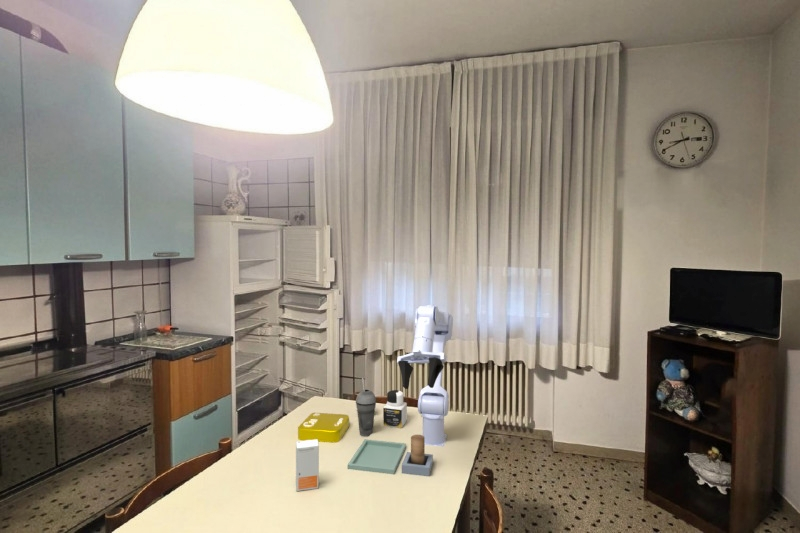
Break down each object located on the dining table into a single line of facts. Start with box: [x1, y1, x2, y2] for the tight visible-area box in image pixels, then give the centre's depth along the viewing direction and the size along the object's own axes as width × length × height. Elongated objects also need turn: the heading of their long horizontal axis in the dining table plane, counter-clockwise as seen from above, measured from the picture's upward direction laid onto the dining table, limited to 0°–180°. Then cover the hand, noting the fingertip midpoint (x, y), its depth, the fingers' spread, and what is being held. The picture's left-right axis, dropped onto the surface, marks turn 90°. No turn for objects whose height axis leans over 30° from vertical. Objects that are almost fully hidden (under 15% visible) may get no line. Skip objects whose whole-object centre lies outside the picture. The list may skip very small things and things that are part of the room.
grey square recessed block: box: [401, 451, 434, 477], centre depth 123 cm, size 8×8×3 cm
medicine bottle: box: [382, 389, 408, 429], centre depth 156 cm, size 7×7×12 cm
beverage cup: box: [355, 377, 377, 437], centre depth 147 cm, size 7×7×20 cm
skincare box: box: [295, 439, 320, 492], centre depth 114 cm, size 6×4×12 cm
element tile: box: [297, 412, 350, 444], centre depth 149 cm, size 15×15×5 cm
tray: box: [347, 439, 407, 475], centre depth 129 cm, size 17×14×2 cm
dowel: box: [410, 434, 426, 465], centre depth 123 cm, size 4×4×9 cm
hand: (417, 387), depth 113 cm, fingers open, 7 cm apart
